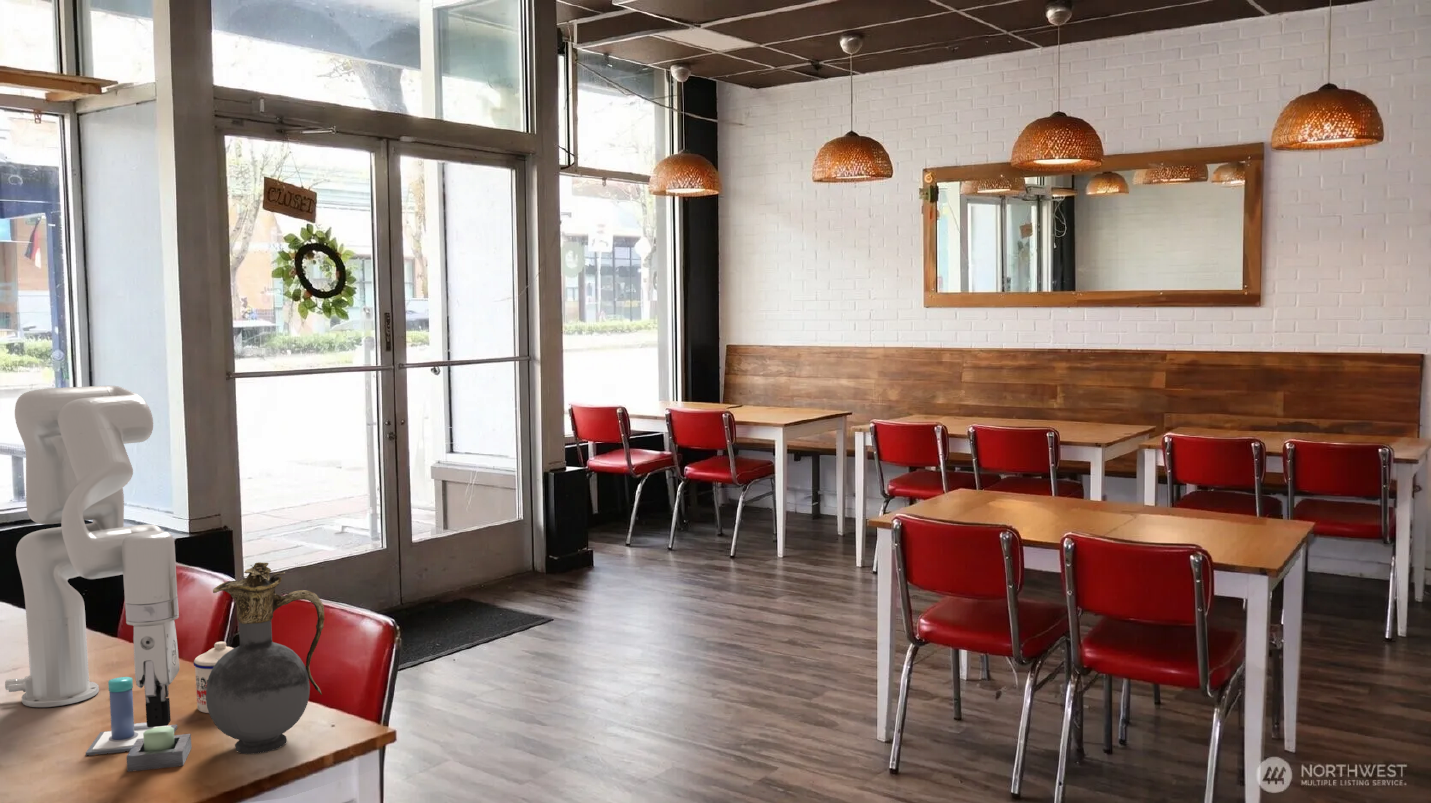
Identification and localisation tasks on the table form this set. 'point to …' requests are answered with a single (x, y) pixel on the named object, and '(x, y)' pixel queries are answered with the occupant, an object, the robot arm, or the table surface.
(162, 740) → the button
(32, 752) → the table surface
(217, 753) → the table surface
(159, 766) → the button base
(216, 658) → the teacup with lid
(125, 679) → the cylinder
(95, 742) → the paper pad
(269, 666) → the pitcher
